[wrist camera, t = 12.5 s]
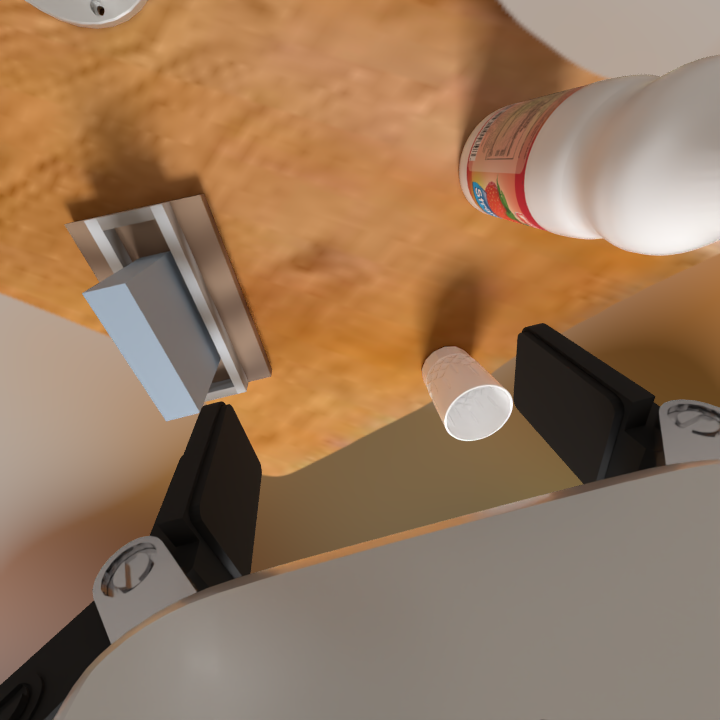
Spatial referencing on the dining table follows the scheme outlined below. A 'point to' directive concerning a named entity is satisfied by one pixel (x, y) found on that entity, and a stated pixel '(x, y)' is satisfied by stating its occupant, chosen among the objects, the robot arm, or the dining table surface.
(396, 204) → the dining table surface
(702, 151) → the fruit juice
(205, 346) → the plain gray rectangular block
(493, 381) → the white cup
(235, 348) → the track plinth
